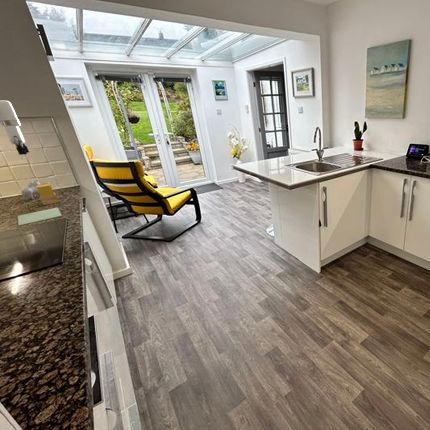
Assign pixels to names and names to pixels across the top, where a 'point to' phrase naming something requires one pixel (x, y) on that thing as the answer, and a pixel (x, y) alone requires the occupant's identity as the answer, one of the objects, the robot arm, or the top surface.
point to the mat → (38, 216)
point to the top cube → (45, 190)
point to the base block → (49, 199)
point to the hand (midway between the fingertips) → (24, 153)
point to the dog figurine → (31, 190)
